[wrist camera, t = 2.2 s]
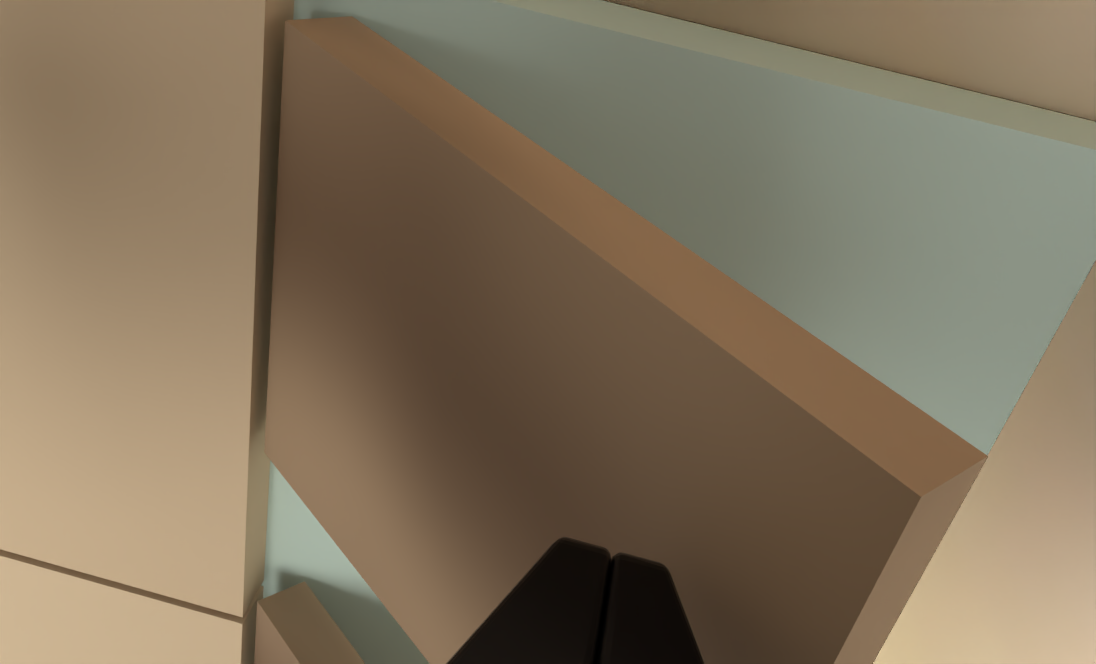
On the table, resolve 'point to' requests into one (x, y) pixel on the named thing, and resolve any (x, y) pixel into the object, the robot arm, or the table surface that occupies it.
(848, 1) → the table surface
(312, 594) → the plank
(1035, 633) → the table surface
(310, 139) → the plank
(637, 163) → the underlay base
